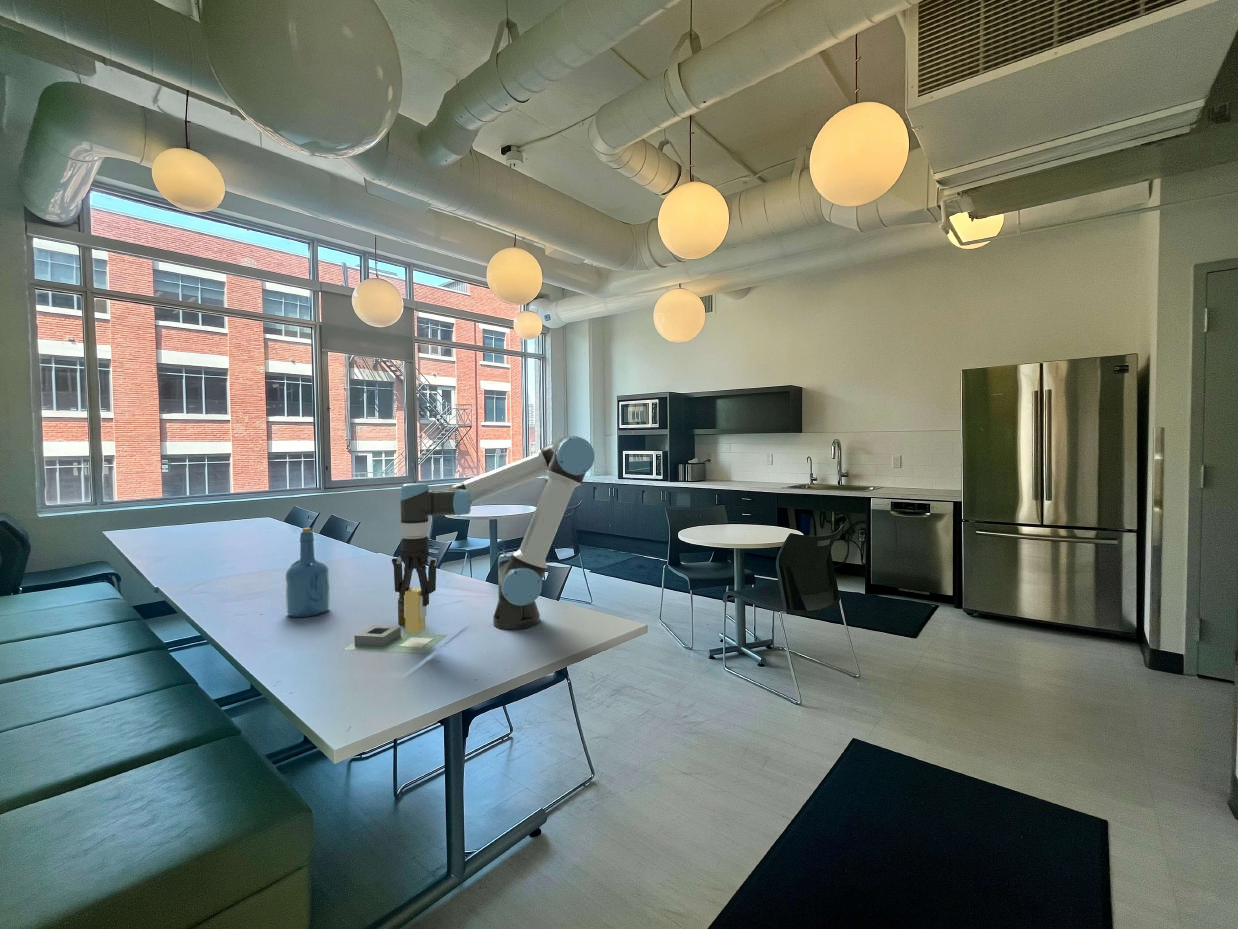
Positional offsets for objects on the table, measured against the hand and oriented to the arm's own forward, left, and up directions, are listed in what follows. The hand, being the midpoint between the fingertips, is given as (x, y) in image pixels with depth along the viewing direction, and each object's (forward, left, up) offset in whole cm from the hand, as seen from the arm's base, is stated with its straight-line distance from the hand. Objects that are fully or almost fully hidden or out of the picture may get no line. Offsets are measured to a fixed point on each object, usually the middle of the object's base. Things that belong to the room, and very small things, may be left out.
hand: (415, 616), depth 154 cm
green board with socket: (+6, 0, -9) cm, 11 cm away
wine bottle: (+55, -26, -9) cm, 61 cm away
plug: (0, 0, -4) cm, 4 cm away
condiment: (+13, -17, -9) cm, 23 cm away
